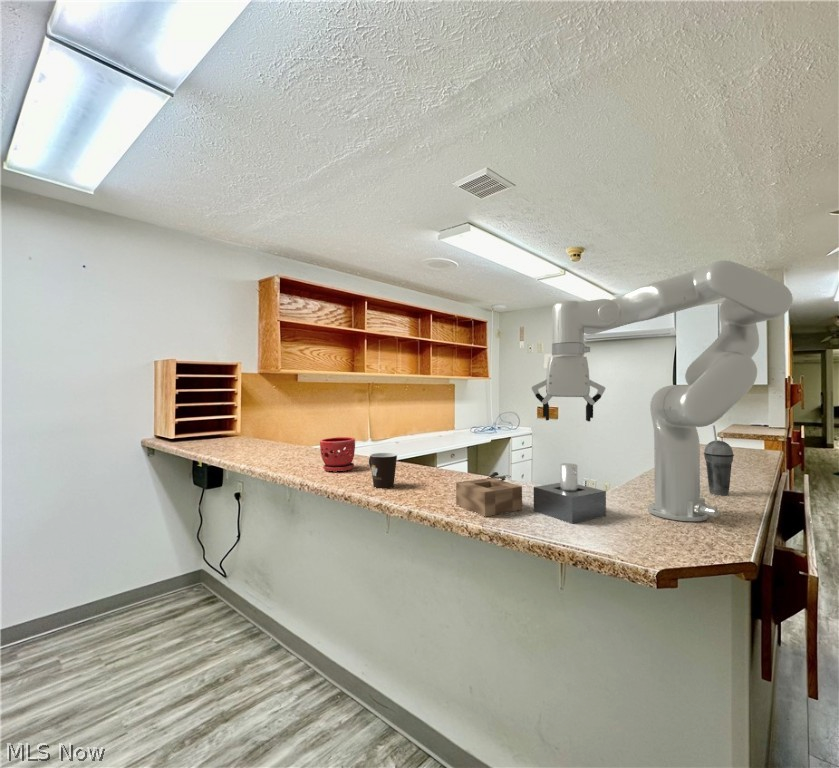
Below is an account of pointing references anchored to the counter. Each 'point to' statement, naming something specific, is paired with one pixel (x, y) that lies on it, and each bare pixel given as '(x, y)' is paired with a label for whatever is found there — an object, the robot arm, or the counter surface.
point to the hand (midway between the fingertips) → (567, 420)
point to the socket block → (570, 503)
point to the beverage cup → (718, 466)
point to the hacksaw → (496, 475)
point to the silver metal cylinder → (568, 477)
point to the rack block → (489, 496)
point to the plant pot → (337, 453)
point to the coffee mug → (383, 469)
